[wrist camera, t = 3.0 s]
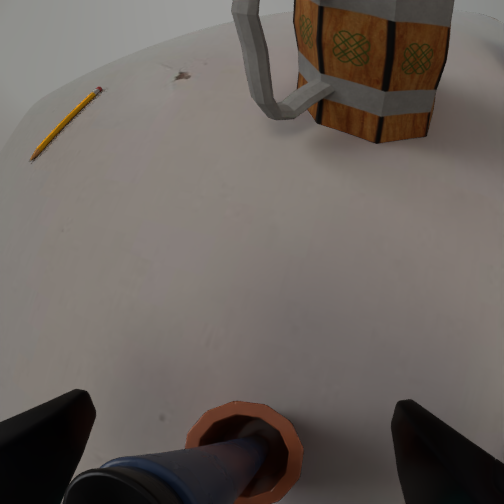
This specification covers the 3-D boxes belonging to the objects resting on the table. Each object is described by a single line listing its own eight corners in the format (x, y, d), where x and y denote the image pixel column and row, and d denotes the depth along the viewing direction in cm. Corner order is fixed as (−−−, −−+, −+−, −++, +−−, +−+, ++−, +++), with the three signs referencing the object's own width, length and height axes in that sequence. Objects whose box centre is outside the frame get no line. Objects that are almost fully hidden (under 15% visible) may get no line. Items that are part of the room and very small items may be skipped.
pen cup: (311, 466, 13) (321, 484, 8) (233, 495, 12) (209, 521, 8) (278, 396, 15) (274, 384, 10) (203, 425, 14) (168, 423, 10)
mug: (357, 58, 31) (361, -58, 18) (457, 114, 24) (490, -20, 12) (210, 118, 26) (172, -43, 14) (320, 209, 20) (328, -44, 7)
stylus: (275, 455, 13) (210, 577, 2) (247, 466, 12) (86, 582, 1) (263, 430, 13) (147, 445, 2) (235, 440, 13) (37, 466, 2)
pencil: (103, 90, 34) (101, 86, 33) (31, 164, 28) (28, 160, 27) (99, 90, 34) (97, 86, 33) (28, 164, 28) (25, 159, 27)
